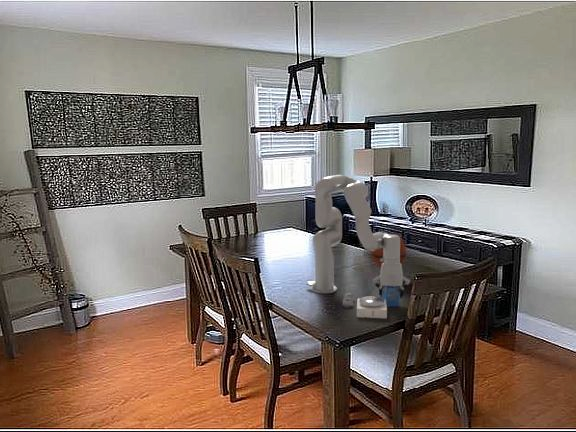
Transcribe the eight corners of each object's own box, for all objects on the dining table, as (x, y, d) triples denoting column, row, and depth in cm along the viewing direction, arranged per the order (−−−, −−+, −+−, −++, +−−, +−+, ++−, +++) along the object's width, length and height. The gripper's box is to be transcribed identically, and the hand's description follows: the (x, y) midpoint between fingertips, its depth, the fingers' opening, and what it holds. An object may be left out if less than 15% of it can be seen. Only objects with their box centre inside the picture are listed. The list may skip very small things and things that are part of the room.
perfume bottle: (395, 301, 225) (396, 277, 223) (399, 306, 219) (399, 281, 217) (382, 302, 225) (383, 278, 223) (385, 307, 219) (386, 282, 217)
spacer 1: (343, 302, 226) (343, 296, 226) (343, 298, 231) (343, 292, 231) (353, 302, 225) (353, 296, 225) (353, 299, 230) (353, 293, 230)
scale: (356, 317, 207) (356, 308, 206) (357, 306, 220) (357, 297, 219) (386, 319, 205) (386, 309, 204) (385, 307, 218) (385, 298, 217)
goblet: (412, 278, 259) (413, 234, 254) (391, 286, 246) (392, 240, 242) (384, 271, 273) (385, 229, 269) (363, 279, 261) (363, 235, 256)
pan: (359, 306, 208) (359, 304, 207) (359, 297, 218) (359, 295, 218) (384, 307, 206) (384, 305, 206) (383, 298, 216) (383, 296, 216)
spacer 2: (342, 307, 219) (342, 301, 219) (342, 303, 224) (342, 297, 224) (353, 308, 219) (353, 301, 218) (353, 304, 224) (353, 298, 223)
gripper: (372, 263, 216) (372, 299, 219) (411, 263, 213) (410, 300, 216) (372, 258, 223) (372, 293, 226) (410, 259, 220) (409, 294, 223)
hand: (391, 296), depth 221 cm, fingers open, 8 cm apart
